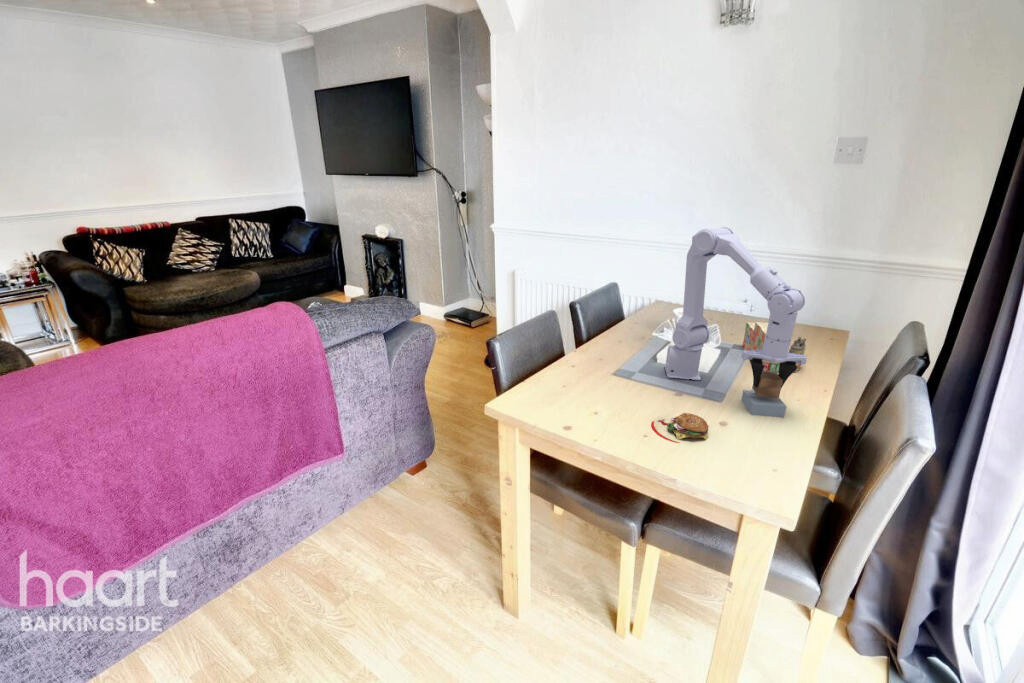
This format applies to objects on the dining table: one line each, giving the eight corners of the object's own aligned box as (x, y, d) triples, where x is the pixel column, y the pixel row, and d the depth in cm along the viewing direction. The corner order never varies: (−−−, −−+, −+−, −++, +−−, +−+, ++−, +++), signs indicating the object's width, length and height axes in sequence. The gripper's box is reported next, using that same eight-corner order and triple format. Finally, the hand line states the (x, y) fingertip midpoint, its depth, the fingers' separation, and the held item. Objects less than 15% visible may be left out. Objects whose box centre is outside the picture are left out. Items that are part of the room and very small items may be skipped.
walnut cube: (757, 396, 123) (761, 378, 122) (752, 387, 128) (756, 370, 126) (778, 398, 123) (783, 380, 121) (772, 389, 127) (776, 372, 125)
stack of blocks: (741, 346, 169) (748, 313, 165) (760, 348, 168) (767, 314, 164) (757, 371, 150) (766, 334, 145) (779, 373, 149) (788, 335, 144)
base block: (750, 416, 124) (753, 404, 122) (740, 401, 131) (743, 389, 130) (783, 418, 123) (786, 406, 121) (771, 403, 130) (774, 392, 129)
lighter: (795, 373, 148) (802, 343, 145) (782, 370, 151) (789, 340, 147) (801, 367, 153) (809, 337, 149) (788, 363, 155) (795, 334, 152)
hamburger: (697, 416, 123) (701, 395, 121) (721, 446, 110) (726, 424, 108) (643, 415, 123) (646, 394, 121) (661, 446, 110) (664, 423, 108)
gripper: (751, 340, 117) (741, 390, 122) (816, 345, 115) (802, 396, 120) (744, 331, 124) (734, 378, 128) (805, 335, 121) (792, 384, 126)
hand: (766, 386), depth 124 cm, fingers closed on walnut cube, 5 cm apart
